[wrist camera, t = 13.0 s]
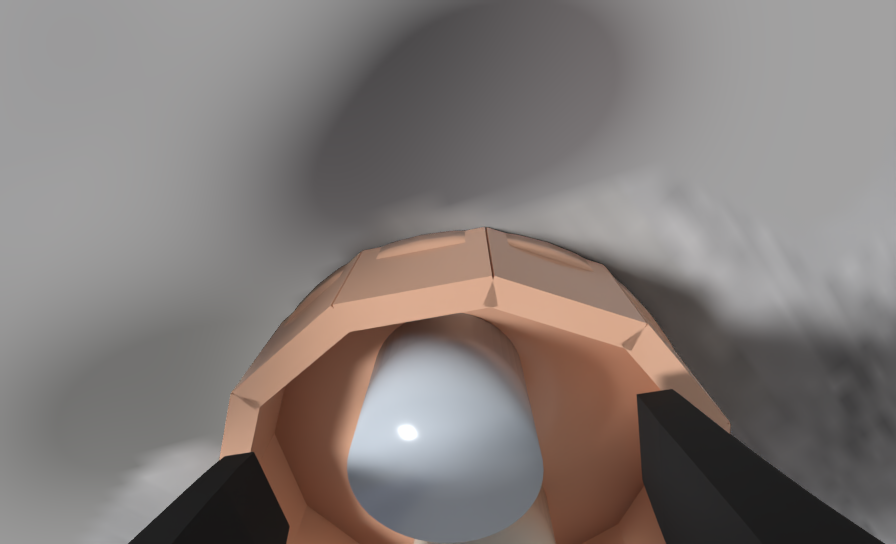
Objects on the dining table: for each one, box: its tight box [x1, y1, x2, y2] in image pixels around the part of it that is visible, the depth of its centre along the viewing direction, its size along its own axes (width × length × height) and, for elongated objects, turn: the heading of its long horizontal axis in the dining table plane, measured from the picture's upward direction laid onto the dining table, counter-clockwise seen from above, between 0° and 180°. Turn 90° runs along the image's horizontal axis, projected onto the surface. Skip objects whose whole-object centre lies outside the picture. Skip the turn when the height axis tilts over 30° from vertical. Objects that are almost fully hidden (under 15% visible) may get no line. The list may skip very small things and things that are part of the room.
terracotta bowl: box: [219, 227, 731, 544], centre depth 12 cm, size 11×11×3 cm
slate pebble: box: [347, 313, 544, 543], centre depth 10 cm, size 4×4×3 cm
